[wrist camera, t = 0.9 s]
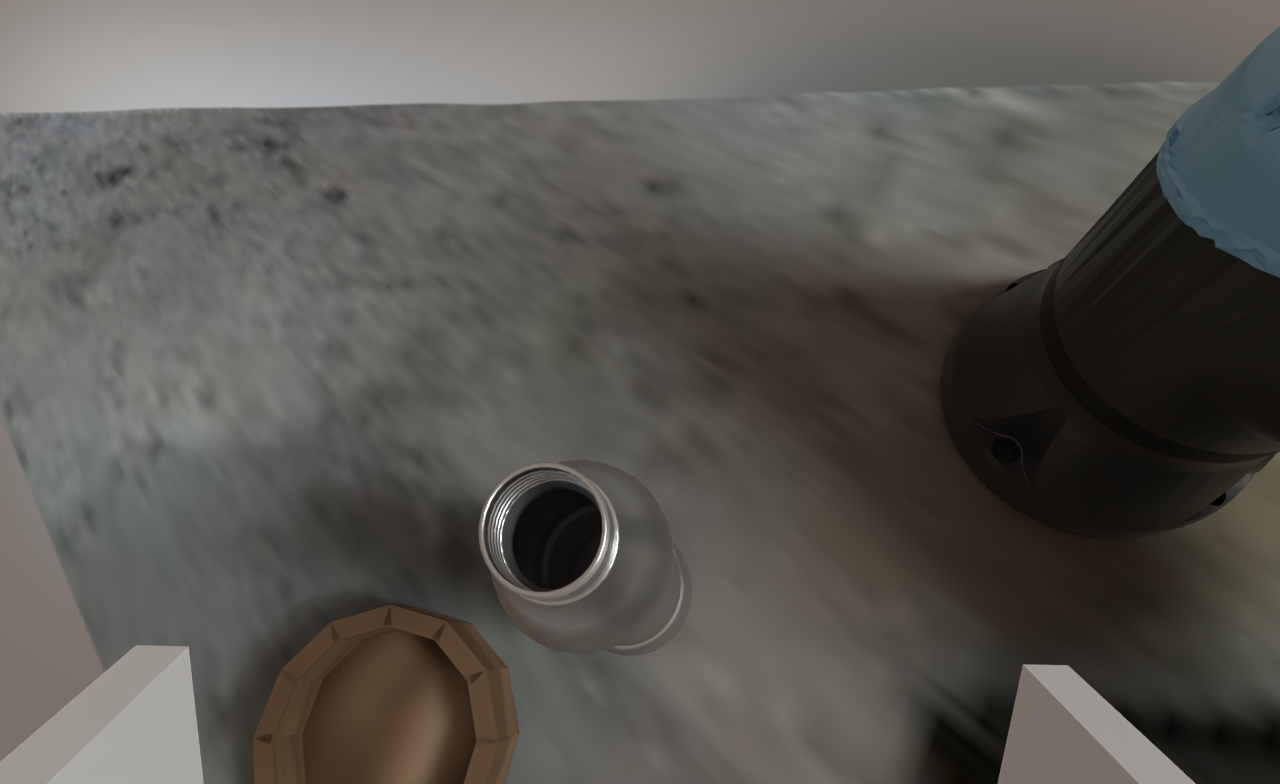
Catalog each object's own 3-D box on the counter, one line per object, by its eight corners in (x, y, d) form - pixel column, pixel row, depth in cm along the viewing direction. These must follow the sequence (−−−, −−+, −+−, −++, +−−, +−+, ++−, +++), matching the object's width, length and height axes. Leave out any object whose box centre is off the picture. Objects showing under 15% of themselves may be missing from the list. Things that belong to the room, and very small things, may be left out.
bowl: (544, 645, 36) (526, 644, 32) (469, 902, 32) (441, 931, 28) (351, 588, 38) (316, 582, 35) (259, 821, 34) (210, 839, 31)
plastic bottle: (614, 680, 35) (491, 716, 16) (554, 567, 37) (388, 486, 19) (717, 613, 35) (713, 574, 17) (652, 506, 38) (585, 370, 19)
